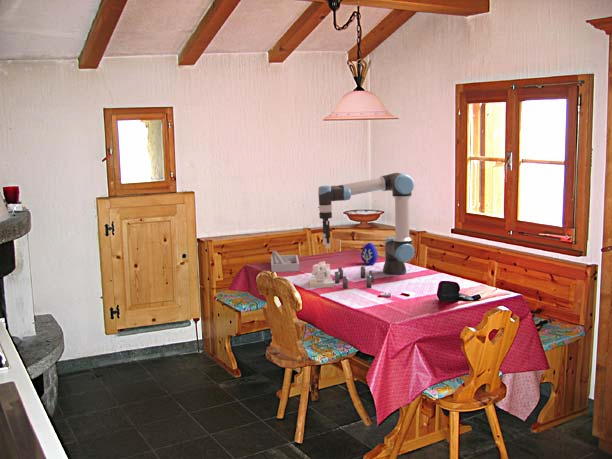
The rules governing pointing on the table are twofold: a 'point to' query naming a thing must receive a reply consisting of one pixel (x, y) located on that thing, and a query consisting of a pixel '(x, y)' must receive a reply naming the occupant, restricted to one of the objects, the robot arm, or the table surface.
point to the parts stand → (320, 283)
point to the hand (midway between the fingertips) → (326, 246)
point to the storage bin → (285, 266)
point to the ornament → (369, 254)
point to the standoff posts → (345, 278)
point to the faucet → (275, 254)
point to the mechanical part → (321, 271)
